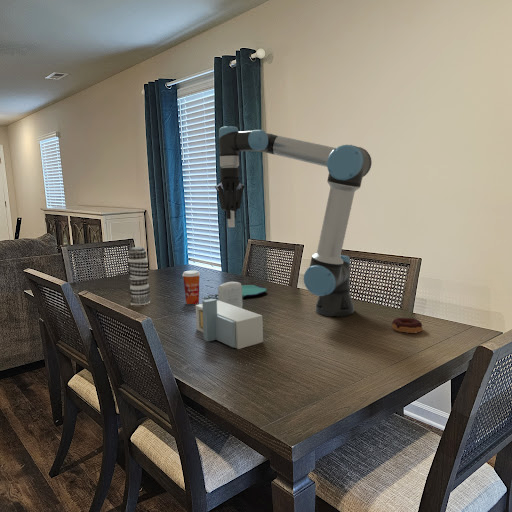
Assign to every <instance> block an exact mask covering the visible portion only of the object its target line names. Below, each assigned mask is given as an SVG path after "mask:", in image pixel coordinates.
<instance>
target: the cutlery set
mask: <svg viewBox="0 0 512 512" xmlns="http://www.w3.org/2000/svg"><path fill="white" fill-rule="evenodd" d="M241 285H242V299H244V298H245V297H255V296H258V295H262V294H266V293H267V291H268V290H267V288H265V287H262V286H258V285H255V284H244V285H243V284H241ZM209 296H211V297H209ZM213 296H215V297H214V299H215V298H216V299H215V300H218V294H217V293H216V294H210V295H208V296H204V298H203V300H206V299H212V297H213Z"/></svg>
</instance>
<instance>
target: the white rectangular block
mask: <svg viewBox="0 0 512 512" xmlns="http://www.w3.org/2000/svg"><path fill="white" fill-rule="evenodd" d="M194 305H195V326H196V328H195V329H196V330H197V331H198V332H201V333H202V334H204V330H203V306H202V303H200V304H199V303H198V304H194ZM217 315H219V316H221V317H224V318H226V319H229V320H231V321H234V322H235V340H236V347H234V348H235V349H237V350H241V349H243V348H246V347H250V346H254V345H258V344H261V343H263V342H264V333H263V332H264V331H263V329H264V328H263V324H264V323H263V315H262V314H259V313H257V312H253V311H250V310H247V309H244V308H243V307H242V308H239V307H236V306H233V305H231V304H228V303H225V302H222V301H218V300H217Z"/></svg>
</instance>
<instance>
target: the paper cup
mask: <svg viewBox="0 0 512 512" xmlns="http://www.w3.org/2000/svg"><path fill="white" fill-rule="evenodd" d="M200 275H201V273H200V271H198V270H186V271H183V273H182V277H183V286H184V287H183V289H184V295H185V298H184V299H185V304H186V303H187V305H188V304H194V305H198V304H199V302H200ZM197 303H198V304H197Z"/></svg>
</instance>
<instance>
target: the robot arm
mask: <svg viewBox="0 0 512 512" xmlns="http://www.w3.org/2000/svg"><path fill="white" fill-rule="evenodd" d="M218 143H219V167H221V168H220V169H219V173H220V174H219V176H220V177H219V178H220V182H219V183H218V184H217V185H215V186H214V188H215V189H216V192H217V196H218V199H219V203H220V207H221V210H223V211H225V218H226V220H227V228H235V226H236V223H235V220H236V218H237V211H238V210H239V209H240V208H241V203H242V197H243V193H244V192H243V191H244V190H245V187H246V186H245V184H242V183H241V182H240V180H239V177H240V168H239V166H240V156H239V152H260V153H266V154H271V155H275V156H280V157H284V158H288V159H293V160H297V161H301V162H305V163H309V164H313V165H317V166H322V167H326V168H327V171H328V177H327V184H328V185H329V187H330V189H329V194H328V198H327V202H326V208H325V212H324V217H323V221H322V228H321V231H320V236H319V240H318V246H317V251H316V252H314V253H313V254H312V255H311V260H310V264H309V267H307V269H306V270H305V272H304V274H303V283H304V286H305V287H306V289H307V290H308V292H310V293H311V294H312V295H315V296H318V298H317V301H316V305H315V312H316V313H317V314H318V315H320V316H324V315H325V316H326V317H332V316H337V317H339V316H341V317H347V315H348V316H350V314H351V315H353V314H354V313H355V305H354V303H353V302H354V301H353V299H352V297H351V291H350V288H351V287H350V286H351V285H350V284H351V282H350V281H351V261H350V260H351V257H350V256H348V255H342V250H343V246H344V240H345V237H346V232H347V228H348V224H349V220H350V219H349V218H350V215H351V210H352V205H353V200H354V196H355V193H356V191H358V190H359V189H360V188H361V186H362V181H363V178H364V177H365V176H367V175H368V173H369V172H370V170H371V167H372V157H371V154H370V153H369V152H368V150H367V149H365V148H363V147H361V146H357V145H354V144H341V145H340V146H337V147H333V146H328V145H323V144H320V143H315V142H309V141H305V140H301V139H295V138H290V137H286V136H282V135H276V134H273V133H270V132H269V133H267V132H266V131H265V130H264V129H253V130H243V131H239V129H238V127H237V126H232V125H231V126H222V127H220V128H219V130H218ZM337 317H336V318H337Z"/></svg>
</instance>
